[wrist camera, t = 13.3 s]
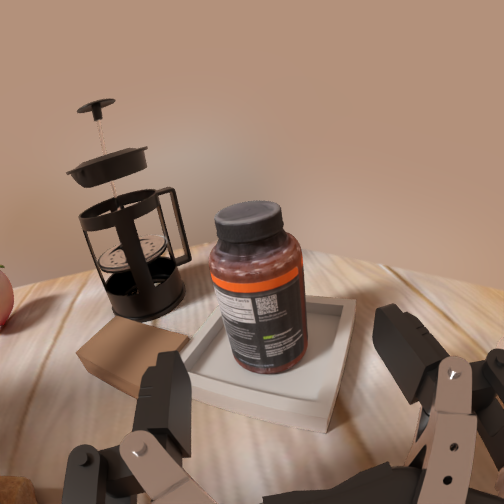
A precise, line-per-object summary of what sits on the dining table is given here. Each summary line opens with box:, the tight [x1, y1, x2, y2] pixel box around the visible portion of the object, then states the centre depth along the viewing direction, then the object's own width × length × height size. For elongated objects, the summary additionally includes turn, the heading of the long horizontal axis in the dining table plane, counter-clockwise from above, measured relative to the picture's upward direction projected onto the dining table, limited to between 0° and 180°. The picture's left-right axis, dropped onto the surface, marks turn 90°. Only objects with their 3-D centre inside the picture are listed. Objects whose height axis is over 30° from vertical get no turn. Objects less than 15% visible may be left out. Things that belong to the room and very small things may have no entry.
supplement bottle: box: [209, 201, 308, 374], centre depth 19 cm, size 6×6×11 cm
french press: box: [66, 99, 192, 322], centre depth 28 cm, size 12×9×23 cm
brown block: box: [76, 315, 189, 399], centre depth 22 cm, size 9×6×2 cm, turn 67°
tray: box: [179, 295, 356, 433], centre depth 22 cm, size 12×12×2 cm
